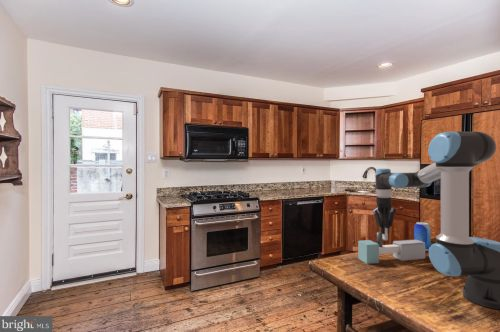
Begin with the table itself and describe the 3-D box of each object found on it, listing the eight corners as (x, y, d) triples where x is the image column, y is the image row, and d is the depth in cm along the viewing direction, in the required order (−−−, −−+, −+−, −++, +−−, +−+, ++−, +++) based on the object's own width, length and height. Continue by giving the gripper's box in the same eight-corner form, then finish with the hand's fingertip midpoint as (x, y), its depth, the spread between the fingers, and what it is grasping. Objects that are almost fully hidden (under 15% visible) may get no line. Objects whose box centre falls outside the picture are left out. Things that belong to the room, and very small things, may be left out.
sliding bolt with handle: (406, 252, 150) (406, 231, 150) (366, 255, 146) (366, 234, 146) (401, 250, 153) (401, 230, 153) (362, 253, 149) (362, 232, 149)
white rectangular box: (425, 258, 150) (425, 242, 150) (401, 260, 148) (401, 244, 148) (416, 254, 157) (415, 239, 157) (393, 256, 154) (392, 240, 154)
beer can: (411, 248, 168) (411, 222, 168) (420, 246, 172) (419, 221, 172) (425, 252, 161) (424, 225, 160) (433, 250, 164) (433, 223, 164)
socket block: (378, 262, 145) (378, 244, 144) (366, 263, 143) (366, 244, 143) (369, 257, 152) (369, 240, 152) (358, 258, 151) (358, 240, 151)
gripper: (389, 195, 154) (390, 236, 154) (369, 196, 152) (370, 238, 152) (399, 196, 147) (400, 240, 147) (377, 198, 145) (378, 242, 145)
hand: (385, 239), depth 150 cm, fingers closed
